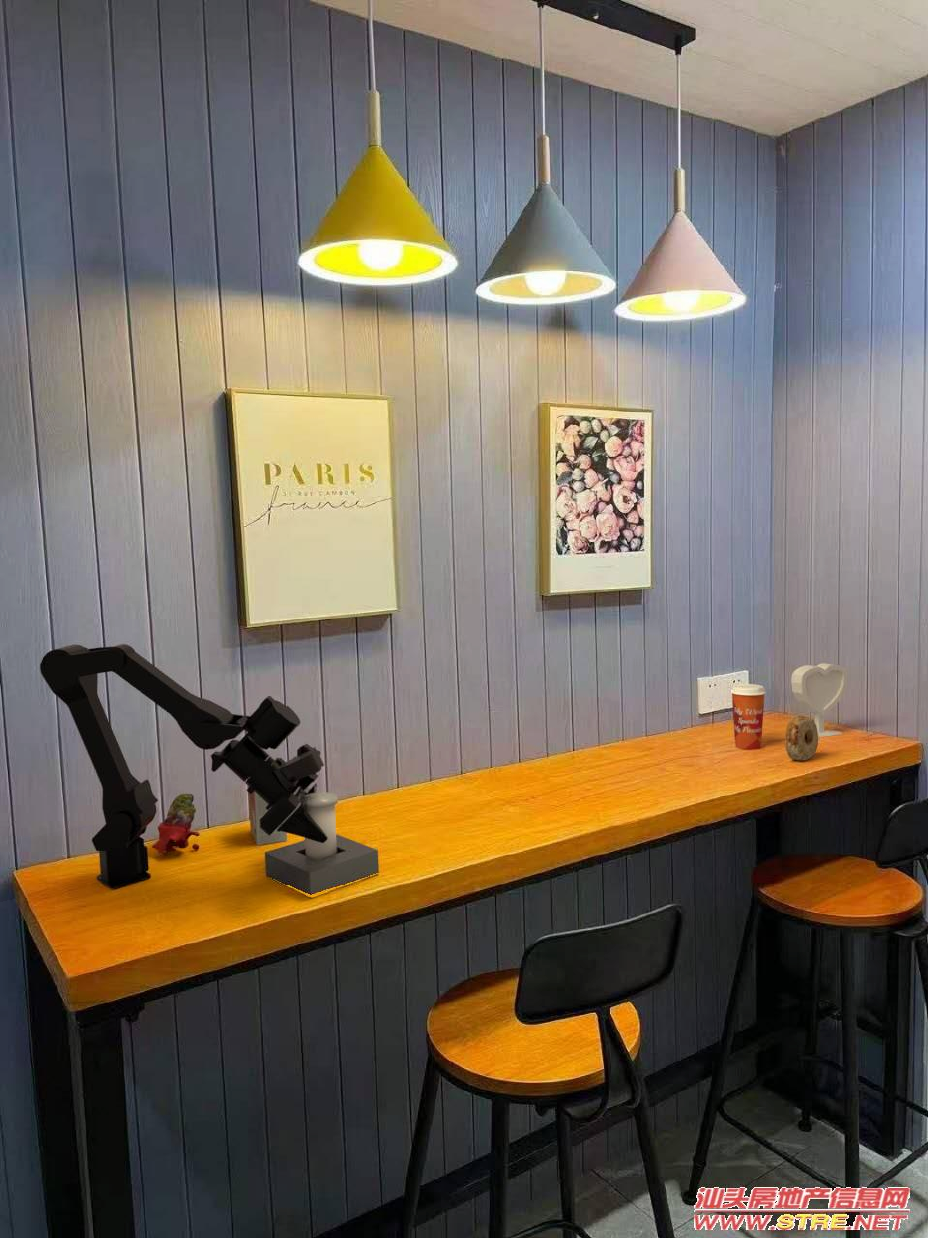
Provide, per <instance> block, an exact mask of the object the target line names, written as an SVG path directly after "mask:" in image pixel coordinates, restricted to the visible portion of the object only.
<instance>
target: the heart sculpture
mask: <svg viewBox="0 0 928 1238" xmlns="http://www.w3.org/2000/svg"><path fill="white" fill-rule="evenodd" d="M847 672H848V671H847V669H846V668H845V667H844V666H841V665H838V664H831V663H825V662H823V663H819V664H817V665H810V664H805V665H802V666H800V667H798V668H796V669H795V670H794V671H793V672H792V673H791V681H790V683H791V691H792V694H793V695H794V698H795V700H796V701H797V702H798V703H799V704H800V705H801V706H802V707H804V708H805V709H806V710H807V711H809V712H811V713H812V714H813V715H814V716H813V720H814V721H815V724H816V727H817V731H818V739H819V737H820V738H825V737H831V736H838V735H842V734H844V733H843V732H841V731H839V730H832V729H825V716H826V715H827V714H828V713H829V712H830V711H832V710H833V708H834V707H835V706H836V705H837V704H838V703H839V702H840V701H841V699H842V697H843V696H844V695H845V691H846V689H847V685H848V684H847V682H848V673H847Z"/></svg>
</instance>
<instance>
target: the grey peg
mask: <svg viewBox="0 0 928 1238" xmlns="http://www.w3.org/2000/svg"><path fill="white" fill-rule="evenodd" d="M305 799H306V804H307V812H308V814H309V815H310V816H311V817H312V819H313V820H314V821H315V822H316V823H317V825H318V826H319V827H320V828H321V829H322V831H323V832H324V833H325V835H326V836H327V838H328V839H327V840H326V841H325V842H324V843H320V842H317V841H314V840H311V839H308V838H304V840H305V852H306V856H307V857H309V858H311V859H314V860H316V861H317V860H320V859H323V858H326V857H329V856H332V855H335V854H337V843H336V834H337V828H336V827H337V825H336V823H337V821H336V805H337V804H338V802H339V801H338V795H337V794H335V793H333V792H325V791H324V792H323V791H322V792H317V793H311V794H307V795H304V796H302V797H301V798H300V803H302V802H303V801H304V800H305Z"/></svg>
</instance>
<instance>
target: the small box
mask: <svg viewBox="0 0 928 1238" xmlns="http://www.w3.org/2000/svg"><path fill="white" fill-rule="evenodd" d="M249 778H250V777H249ZM249 778H248V779H249ZM248 779H247V780H248ZM248 804H249V806H248V807H249V823H250V826H249V827H250V833H251V835H252V837H253V839H254V842H255V844H256V846H261V845H268V844H270V845H271V844H276V843H283V842H287V841H288V833H286V832H282V831H280V832H278V831H277V829H278V828H279V827H278V828H277V829H276V830H275V831H274V832H273V833H272V834H271V835H270V836H269V835H267V834H266V833H265V832H264V831H263V830H262V829H261V828H260V819H261V818H262V816H263V815H264V814H265V813H266V812H267V809H266V806H267V805H268V804H267V803H266V802H265V801H264V800H263V799H262V798H261V797H260V796H259V795H258V794H256V793H255V792H253V793H252V794H250V793H249V792H248ZM281 824H282V823H281Z"/></svg>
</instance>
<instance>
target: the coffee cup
mask: <svg viewBox="0 0 928 1238" xmlns="http://www.w3.org/2000/svg"><path fill="white" fill-rule="evenodd" d="M765 690H766V688H765V687H764V686H763V685H761V684H760V685H759V684H756V683H755V684H754V683H740V684H739V683H738V684H734V685H733V686H732V689H731V690H730V693H731V702H732V715H733V716H732V717H733V732H734V746H735V748H736V747H737V748H736V749H739V748H740V750H746V751H747V750H748V751H750V750H751V751H754V750H759V749H761V748H762V737H763V734H762V733H763V723H764V720H763V719H764V706H765V705H764V703H765V694H767V691H765Z"/></svg>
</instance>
